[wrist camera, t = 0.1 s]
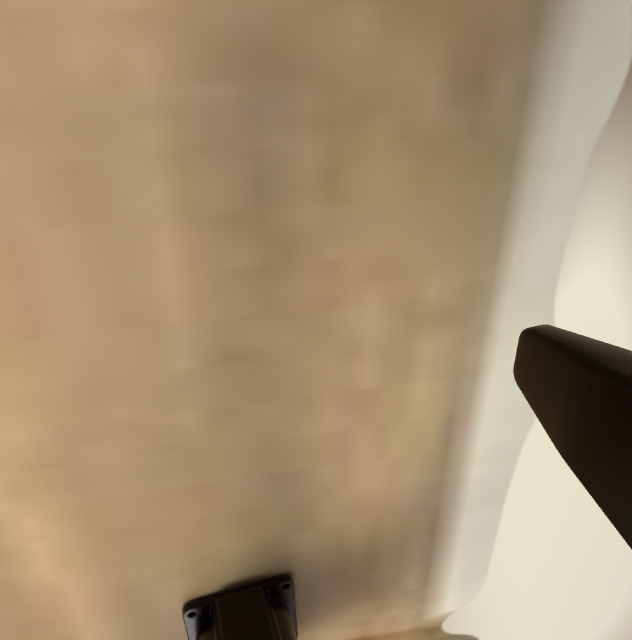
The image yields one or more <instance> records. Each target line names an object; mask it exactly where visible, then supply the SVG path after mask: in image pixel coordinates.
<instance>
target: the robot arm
mask: <svg viewBox="0 0 632 640" xmlns="http://www.w3.org/2000/svg"><path fill="white" fill-rule="evenodd" d="M513 371H514V378H515V381H516V383H517V385H518V387H519V388H520V390H521V392H522V393H523V395H524V396H525V398H526V400H527V401H528V403H529V405H530V406H531V408H532V410H533V411H534V413H535V415H536V416H537V418H538V419H539V421H540V423H541V424H542V426H543V428H544V429H545V431H546V432H547V434H548V436H549V437H550V439H551V441H552V442H553V444H554V446H555V447H556V449H557V450H558V452H559V453H560V455H561V456H562V458H563V459H564V460H565V462H566V463H567V465H568V466H569V467H570V469H571V470H572V471H573V473H574V474H575V475H576V477H577V478H578V479H579V481H580V482H581V483H582V485H583V486H584V487H585V489H586V490H587V491H588V492H589V494H590V495H591V496H592V498H593V499H594V500H595V502H596V503H597V504H598V506H599V507H600V508H601V509H602V511H603V512H604V514H605V515H606V516H607V517H608V519H609V520H610V521H611V523H612V524H613V525H614V527H615V528H616V529H617V531H618V532H619V533H620V535H621V536H622V537H623V539H624V540H625V541H626V543H627V544H628V545H629V547H630V548H631V549H632V351H630V350H627V349H624V348H621V347H618V346H614V345H611V344H608V343H604V342H602V341H599V340H595V339H592V338H589V337H586V336H582V335H579V334H576V333H573V332H570V331H567V330H563V329H560V328H557V327H554V326H551V325H539V326H534V327H530V328H526V329H524V330H523V331H522V332H521V334H520V337H519V341H518V346H517V352H516V357H515V362H514V369H513ZM182 613H183V619H184V623H185V627H186V631H187V635H188V639H189V640H297V637H298V634H297V621H296V607H295V594H294V583H293V580H292V577H291V576H290V575H283V576H280V577H277V578H273V579H270V580H266V581H263V582H260V583H256V584H253V585H250V586H246V587H243V588H240V589H236V590H233V591H230V592H226V593H223V594H219V595H216V596H213V597H209V598H206V599H203V600H199V601H196V602H193V603H189V604H187V605H186V606H184V607H183V609H182Z"/></svg>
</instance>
